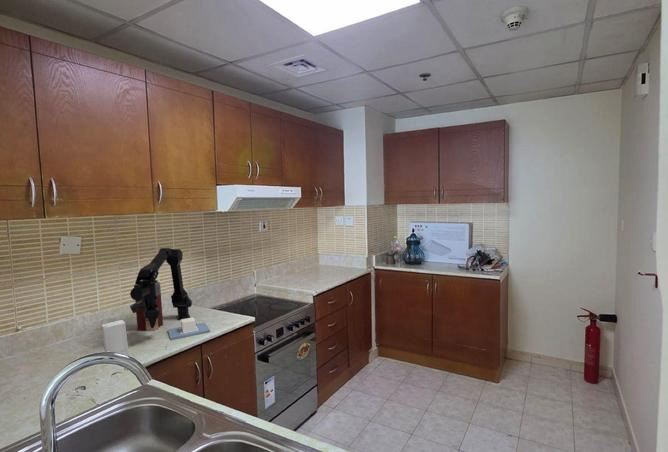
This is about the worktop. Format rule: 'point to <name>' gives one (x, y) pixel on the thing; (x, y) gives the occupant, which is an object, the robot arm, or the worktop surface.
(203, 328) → the board
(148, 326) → the walnut block
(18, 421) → the worktop surface
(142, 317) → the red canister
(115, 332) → the skincare box
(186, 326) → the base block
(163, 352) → the worktop surface
